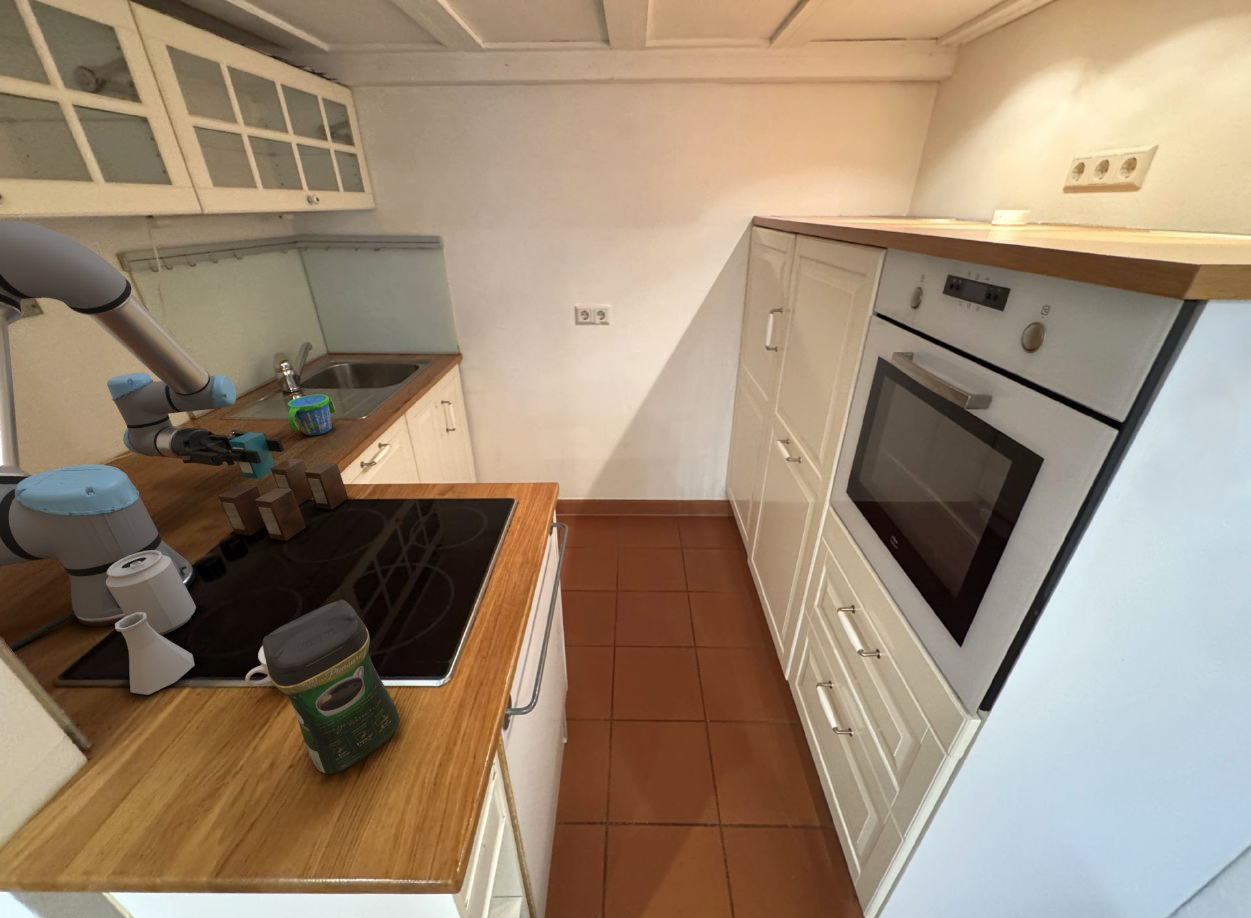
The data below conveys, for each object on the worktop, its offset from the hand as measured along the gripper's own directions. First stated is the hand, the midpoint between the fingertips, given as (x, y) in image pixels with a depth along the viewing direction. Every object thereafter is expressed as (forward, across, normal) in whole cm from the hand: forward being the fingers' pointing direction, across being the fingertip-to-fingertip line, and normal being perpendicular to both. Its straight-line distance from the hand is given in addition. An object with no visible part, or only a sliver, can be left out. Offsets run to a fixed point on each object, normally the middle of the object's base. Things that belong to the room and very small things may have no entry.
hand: (269, 451), depth 110 cm
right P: (+13, 0, -12) cm, 17 cm away
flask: (+25, +45, -12) cm, 53 cm away
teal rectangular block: (-5, 0, -6) cm, 8 cm away
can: (+15, +37, -12) cm, 42 cm away
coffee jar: (+59, +47, -12) cm, 76 cm away
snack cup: (-24, -35, -12) cm, 44 cm away
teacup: (+44, +41, -12) cm, 61 cm away
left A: (+4, +12, -12) cm, 17 cm away
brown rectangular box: (+4, 0, -12) cm, 12 cm away
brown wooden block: (+13, +12, -12) cm, 21 cm away
